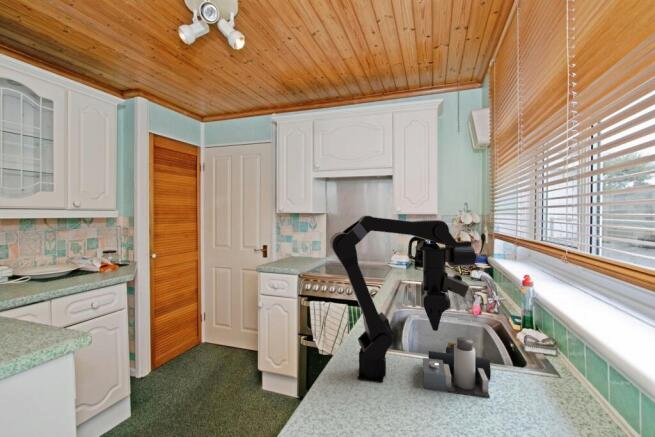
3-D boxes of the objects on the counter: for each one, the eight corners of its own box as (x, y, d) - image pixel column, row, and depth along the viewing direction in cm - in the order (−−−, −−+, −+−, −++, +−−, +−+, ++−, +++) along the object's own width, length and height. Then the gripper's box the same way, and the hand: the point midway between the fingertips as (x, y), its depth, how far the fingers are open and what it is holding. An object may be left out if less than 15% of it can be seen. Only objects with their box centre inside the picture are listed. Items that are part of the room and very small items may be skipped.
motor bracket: (424, 388, 76) (424, 369, 76) (422, 372, 83) (422, 354, 83) (489, 398, 72) (490, 377, 72) (482, 380, 80) (482, 361, 79)
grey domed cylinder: (458, 389, 75) (458, 343, 74) (451, 378, 79) (451, 335, 79) (478, 389, 74) (478, 344, 74) (470, 378, 79) (470, 336, 79)
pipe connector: (428, 337, 94) (483, 344, 89) (428, 355, 94) (482, 362, 90) (428, 355, 83) (490, 363, 78) (428, 374, 83) (490, 384, 79)
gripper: (473, 274, 72) (473, 341, 72) (461, 262, 90) (460, 315, 90) (423, 272, 75) (423, 336, 75) (421, 260, 93) (420, 312, 93)
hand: (433, 324), depth 83 cm, fingers open, 9 cm apart
